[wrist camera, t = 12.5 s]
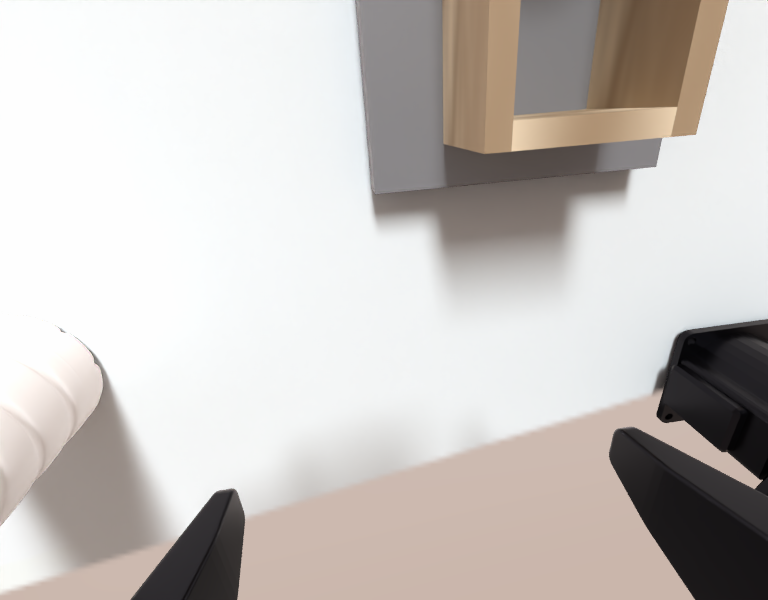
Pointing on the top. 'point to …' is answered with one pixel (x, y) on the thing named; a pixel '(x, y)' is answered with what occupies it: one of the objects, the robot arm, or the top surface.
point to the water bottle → (39, 400)
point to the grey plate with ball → (425, 97)
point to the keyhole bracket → (607, 81)
